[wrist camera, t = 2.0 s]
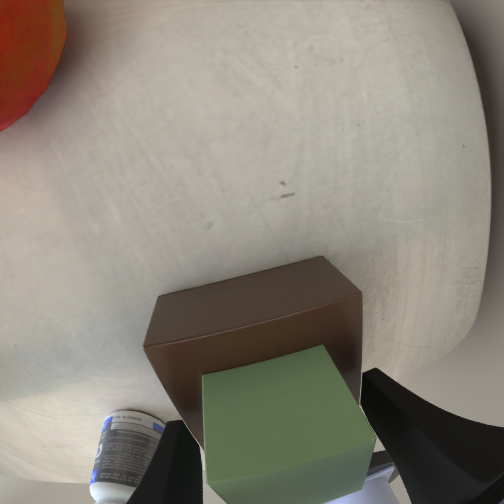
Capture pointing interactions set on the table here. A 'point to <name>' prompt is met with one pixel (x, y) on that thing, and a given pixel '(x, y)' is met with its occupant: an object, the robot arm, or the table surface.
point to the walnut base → (253, 328)
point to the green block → (284, 432)
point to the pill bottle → (123, 455)
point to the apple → (28, 53)
